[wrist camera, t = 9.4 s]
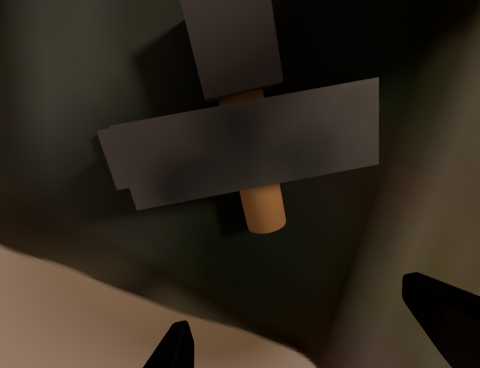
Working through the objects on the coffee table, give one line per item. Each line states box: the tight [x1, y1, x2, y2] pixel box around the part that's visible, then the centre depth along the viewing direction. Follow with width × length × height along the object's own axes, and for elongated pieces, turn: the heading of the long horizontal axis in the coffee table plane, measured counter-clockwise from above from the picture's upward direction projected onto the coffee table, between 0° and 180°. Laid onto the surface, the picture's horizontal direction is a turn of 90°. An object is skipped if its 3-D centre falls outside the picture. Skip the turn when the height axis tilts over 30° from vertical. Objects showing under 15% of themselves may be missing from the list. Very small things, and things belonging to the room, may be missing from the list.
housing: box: [97, 77, 379, 211], centre depth 14 cm, size 18×4×6 cm, turn 100°
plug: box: [180, 0, 286, 233], centre depth 15 cm, size 14×4×4 cm, turn 13°
